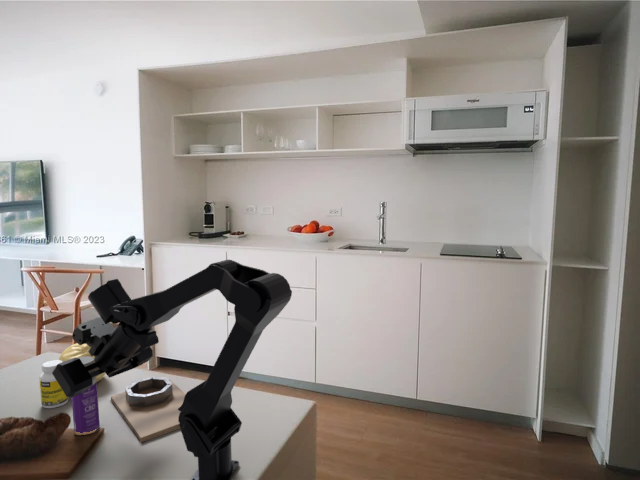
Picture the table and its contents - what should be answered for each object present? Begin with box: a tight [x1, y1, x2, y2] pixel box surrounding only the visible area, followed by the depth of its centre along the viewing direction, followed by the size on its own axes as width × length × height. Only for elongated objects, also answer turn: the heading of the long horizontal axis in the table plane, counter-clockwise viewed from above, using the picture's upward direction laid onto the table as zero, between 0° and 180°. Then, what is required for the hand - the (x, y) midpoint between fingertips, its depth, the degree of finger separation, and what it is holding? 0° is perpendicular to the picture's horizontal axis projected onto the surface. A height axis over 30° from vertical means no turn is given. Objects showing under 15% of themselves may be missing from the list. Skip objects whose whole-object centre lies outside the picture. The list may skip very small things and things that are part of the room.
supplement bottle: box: [39, 359, 70, 409], centre depth 100 cm, size 5×5×10 cm
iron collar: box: [124, 376, 173, 407], centre depth 101 cm, size 10×10×2 cm
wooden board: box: [110, 378, 186, 443], centre depth 98 cm, size 22×14×1 cm, turn 40°
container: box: [71, 356, 101, 433], centre depth 88 cm, size 5×5×15 cm
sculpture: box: [58, 342, 106, 383], centre depth 111 cm, size 11×12×11 cm
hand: (88, 384), depth 87 cm, fingers open, 9 cm apart
